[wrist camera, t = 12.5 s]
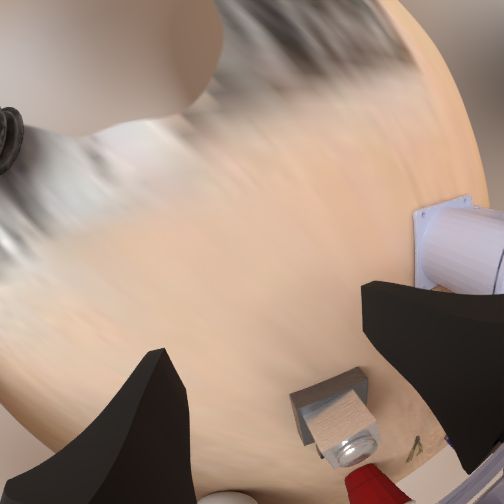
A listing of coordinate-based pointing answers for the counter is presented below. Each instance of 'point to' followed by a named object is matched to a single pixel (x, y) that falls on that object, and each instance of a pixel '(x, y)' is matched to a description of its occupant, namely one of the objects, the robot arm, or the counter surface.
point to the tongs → (414, 449)
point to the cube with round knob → (344, 430)
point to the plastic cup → (373, 488)
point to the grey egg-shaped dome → (227, 498)
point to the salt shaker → (9, 137)
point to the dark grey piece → (325, 398)
